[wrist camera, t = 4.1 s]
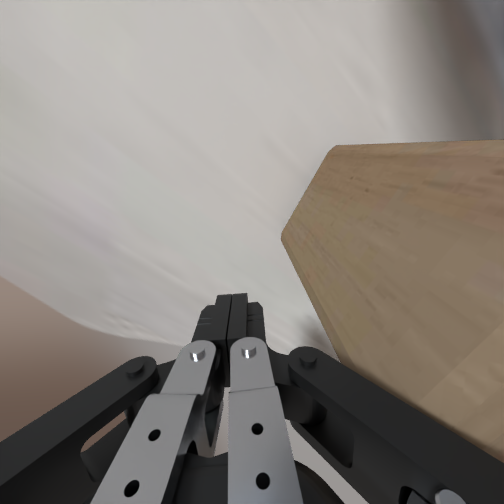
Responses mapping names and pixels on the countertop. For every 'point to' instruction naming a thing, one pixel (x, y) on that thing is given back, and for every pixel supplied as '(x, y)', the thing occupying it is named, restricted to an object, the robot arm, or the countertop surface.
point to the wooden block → (412, 274)
